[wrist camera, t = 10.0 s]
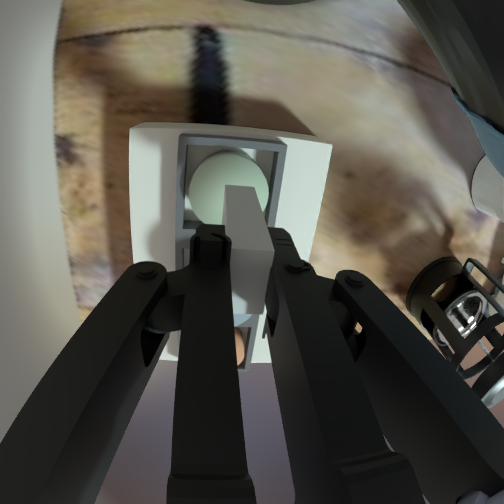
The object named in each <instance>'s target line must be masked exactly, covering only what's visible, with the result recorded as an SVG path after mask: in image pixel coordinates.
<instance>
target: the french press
mask: <svg viewBox="0 0 504 504" xmlns="http://www.w3.org/2000/svg"><path fill="white" fill-rule="evenodd" d="M474 266H476V267H477V268H478V269H479V270H480V271H481V272H482V273H483V274H484V275H485V276H486V277H487V278H488V279H489V280H490V281H491V282H492V283H493V284H494V285H495V286H496V287H497V288H498V289H499V290H500V291H501V292H502V293H503V294H504V285H503V284H502V283H501V282H500V281H499V280H498V279H497V278H496V277H495V276H494V275H493V274H492V273H491V272H490V271H488V270H487V269H486V268H485V267H484V266H483V265H482V264H481V263H480V262H479V261H478V260H476V259H472V258H468V259H467V260H466V262H465V264H464V266H462V264H461V263H460V262H459V261H458V260H457V259H455V258H453V257H444V258H441V259H438V260H436V261H434V262H432V263H431V264H429V265H428V266H427V267H425V268H424V269H423V270H422V271H421V272H420V274H419V275H418V276H417V277H416V278H415V280H414V282H413V283H412V285H411V287H410V289H409V292H408V295H407V302H406V303H407V308H408V311H409V312H410V314H411V315H412V316H414V317H415V318H416V319H417V321H418V322H419V324H420V325H421V327H422V328H423V329H424V330H426V331H428V333H429V334H430V336H431V337H432V338H433V340H434V341H435V343H436V344H437V346H438V347H439V349H440V350H441V352H442V353H443V355H444V356H445V358H446V359H447V361H448V362H449V363H450V365H451V366H452V367H453V368H454V369H455V370H456V371H457V373H458V374H459V375H460V376H461V377H462V378H463V379H464V380H467V379H470V378H472V377H474V376H476V375H477V374H479V373H480V372H481V371H483V370H484V369H485V370H484V372H483V373H482V374H481V375H480V376H479V377H478V379H477V380H476V381H475V383H474V384H473V386H472V388H471V389H472V390H473V391H474V392H475V394H476V395H477V396H478V397H479V398H480V400H481V401H482V402H483V403H484V404H485V406H486V407H487V408H488V409H489V408H491V407H492V406H494V405H495V404H497V403H498V402H500V401H501V400H502V399H503V398H504V352H503V350H504V334H503V336H501V335H500V333H498V331H497V330H496V329H495V327H496V326H497V325H499V324H501V323H503V322H504V309H503V308H502V307H501V306H500V305H499V304H498V303H497V302H496V301H495V299H494V298H493V297H492V296H491V295H490V294H489V293H488V292H487V291H486V290H485V289H484V288H483V287H482V286H481V285H480V284H479V283H478V282H477V281H476V280H475V279H474V278H473V277H472V276H471V275H470V273H471V271H472V269H473V267H474ZM454 276H457V280H456V285H455V287H454V290H453V291H452V293H451V295H450V296H449V297H448V298H447V300H446V301H445V302H444V303H442V304H441V305H440V306H439V305H438V304H437V303H436V301H435V300H434V299H433V298H432V297H431V295H432V294H433V293H434V291H435V290H436V289H437V288H438V287H439V286H440V285H441V284H443V283H444V282H445V281H447V280H448V279H450V278H452V277H454ZM487 301H488V302H489V303H490V304H491V305H492V306H493V308H494V309H495V310H496V311H497V312H498V313H496V314H494V315H492V316H490V317H488V318H486V316H485V315H484V311H485V309H486V306H487ZM423 309H424V310H425V311H424V310H423ZM475 326H477V327H476V328H475V329H474V330H473V331H472V329H473V328H474V327H475ZM469 332H470V334H469V335H468V336H467V337H466V338H465V339H464V337H465V336H466V335H467V334H468V333H469ZM483 336H485V337H486V338H487V339H488V341H489V342H490V343H491V345H492V346H493V347H494V348H493V350H491V352H490V353H489V352H488V351H487V349H486V348H485V346H484V345H483V344H482V342H481V341H480V339H481V338H482V337H483ZM477 342H478V343H479V345H480V346H481V347H482V349H483V350H484V351H485V353H486V354H487V356H486V357H484V358H483V359H482V360H481V361H480V362H478V363H477V364H476V365H474V366H472V367H470V368H469V369H466V370H463V368H462V367H461V365H460V363H461V362H462V360H463V359H464V357H465V356H466V354H467V353H468V352H469V351H470V350H471V348H472V347H473V346H474V345H475V344H476V343H477ZM448 345H450V346H451V347H452V349H453V350H454V352H455V353H454V355H453V354H452V352H451V350H450V349H449V347H448ZM502 352H503V353H502ZM501 353H502V354H501Z"/></svg>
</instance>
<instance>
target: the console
mask: <svg viewBox="0 0 504 504" xmlns="http://www.w3.org/2000/svg"><path fill="white" fill-rule="evenodd" d="M332 146H333V145H332V144H330V143H328V142H327V141H325V140H323V139H321V138H319V137H317V136H312V135H306V134H299V133H292V132H285V131H277V130H269V129H260V128H251V127H241V126H229V125H215V124H198V123H171V122H143V123H140V124H138V125H136V126H134V127H131V128H130V133H129V195H130V219H131V236H132V249H133V261H134V264H135V263H138V262H141V261H154V262H157V263H160V264H162V265H163V266H164V267H165V268H166V270H167V272H170V271H176V270H180V269H182V268H184V267H186V266H188V265H189V258H190V238H191V237H192V236H193V235H194V234H195V232H196V228H197V227H198V226H200V225H201V224H205V223H203V222H202V221H201V220H200V219H199V218H198V217H197V216H196V215H195V213H194V212H193V210H192V207H191V204H190V200H189V187H190V184H191V180H192V176H193V173H194V171H195V169H196V167H197V166H198V164H199V163H200V162H201V161H202V160H203V159H204V158H205V157H207V156H208V155H210V154H212V153H214V152H217V151H221V150H236V151H240V152H242V153H245V154H247V155H248V156H250V157H251V158H252V159H254V160H255V162H256V163H257V164H258V165H259V167H260V169H261V171H262V172H263V174H264V176H265V178H266V181H267V184H268V191H269V195H268V201H267V205H266V207H265V209H264V211H263V215H264V219H265V222H266V225H267V227H276V228H283V229H285V230H286V231H287V232H288V233H290V235H291V238H292V241H293V242H294V244H295V247H296V249H297V251H298V254H299V256H300V258H301V259H302V260H305V261H307V262H308V260H309V256H310V251H311V247H312V243H313V238H314V234H315V230H316V225H317V221H318V216H319V211H320V207H321V202H322V197H323V192H324V188H325V183H326V178H327V173H328V167H329V162H330V157H331V152H332ZM266 313H267V311H266V306H265V307H264V312H263V315H262V314H252V315H251V317H250V318H249V319H248V320H246V321H245V322H243V323H242V324H240V325H238V326H235V327H238V328H239V330H240V331H241V333H242V337H243V345H244V359H243V361H242V362H241V363H240V364H239V365H238V372H249V371H250V365H251V363H260V362H261V363H265V362H266V363H267V362H268V363H269V362H271V356H270V351H269V345H268V339H267V334H266V335H265V339H262V333H263V328H264V323H265V318H266ZM180 334H181V330H179V331H174V332H170V337H169V339H168V341H167V343H166V345H165V347H164V349H163V351H162V354H161V356H160V358H159V359H161V360H175V361H176V360H177V361H178V354H179V344H180Z"/></svg>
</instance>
